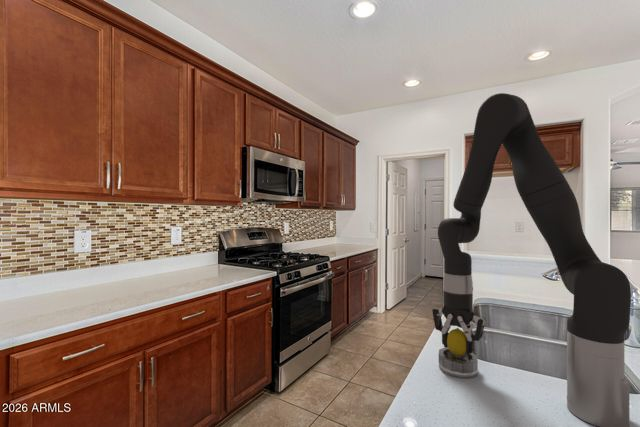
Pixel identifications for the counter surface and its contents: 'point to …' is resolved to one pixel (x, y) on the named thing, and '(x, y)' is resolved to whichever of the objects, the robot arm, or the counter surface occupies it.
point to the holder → (458, 364)
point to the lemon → (457, 342)
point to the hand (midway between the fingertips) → (457, 349)
